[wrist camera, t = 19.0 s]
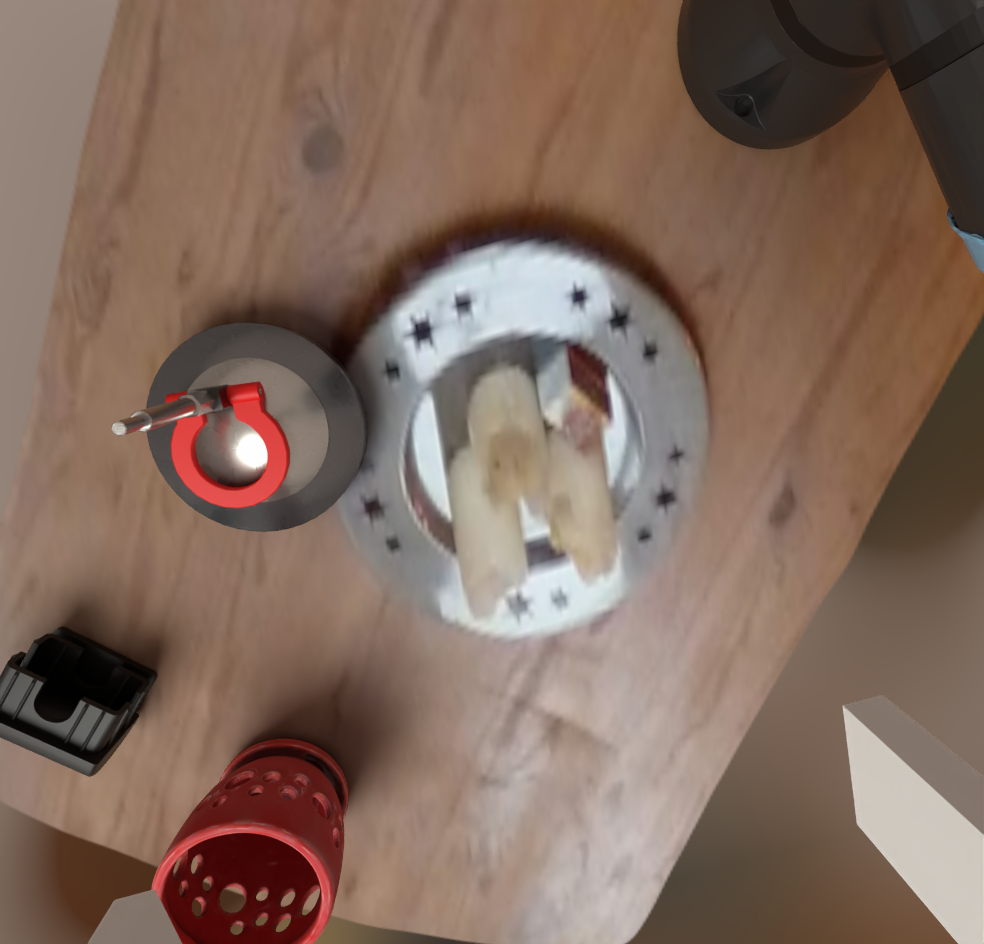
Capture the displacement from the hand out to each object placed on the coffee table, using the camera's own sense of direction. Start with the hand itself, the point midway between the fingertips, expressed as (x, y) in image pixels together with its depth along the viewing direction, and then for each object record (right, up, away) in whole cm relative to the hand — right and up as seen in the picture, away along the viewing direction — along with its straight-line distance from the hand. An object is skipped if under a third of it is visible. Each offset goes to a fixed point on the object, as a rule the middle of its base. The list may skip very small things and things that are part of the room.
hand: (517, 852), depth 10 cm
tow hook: (-20, +9, +32) cm, 39 cm away
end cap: (-35, -11, +38) cm, 53 cm away
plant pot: (-19, -22, +41) cm, 51 cm away
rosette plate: (-19, +11, +34) cm, 40 cm away
